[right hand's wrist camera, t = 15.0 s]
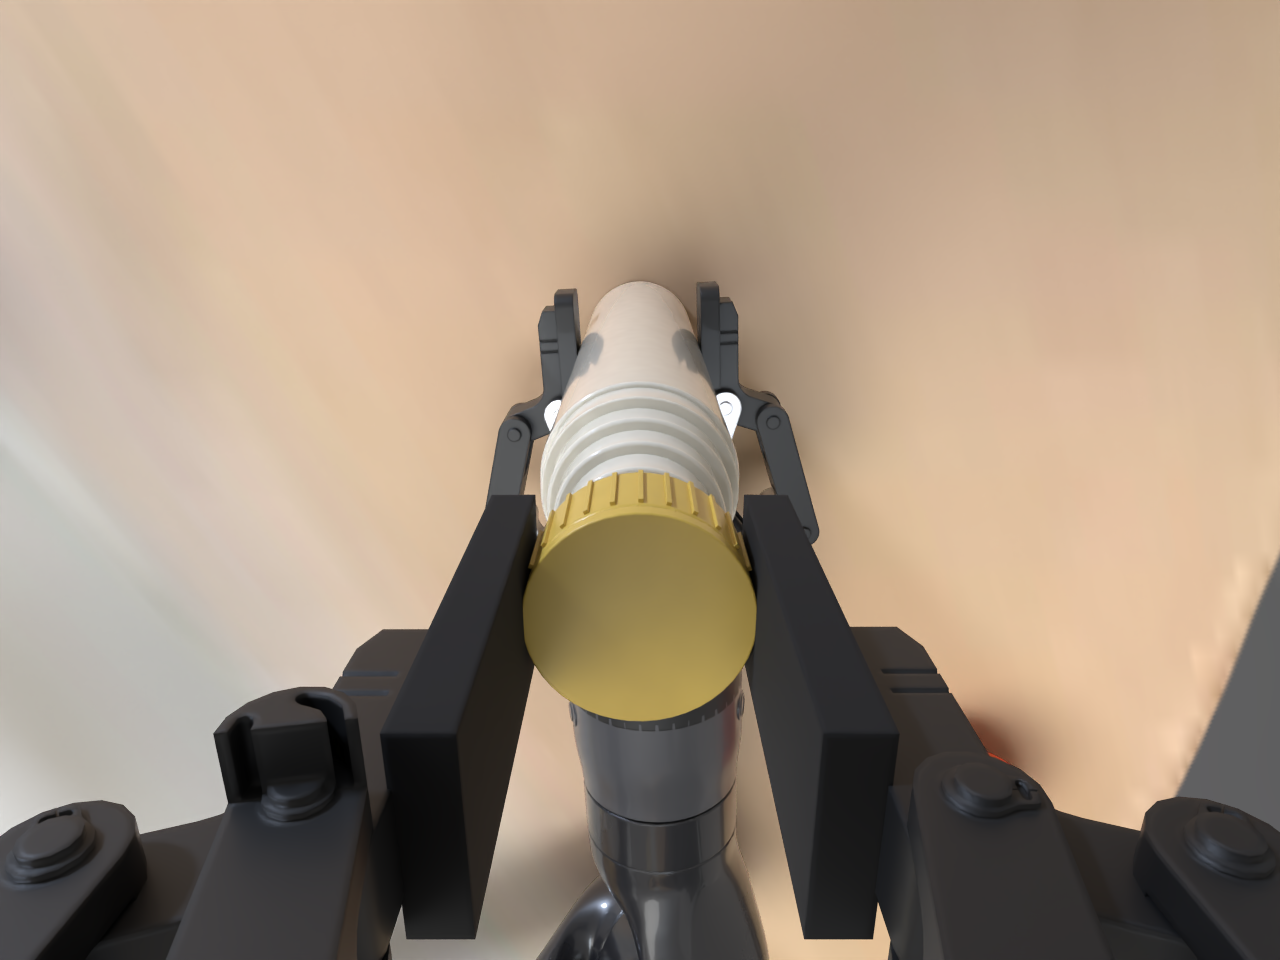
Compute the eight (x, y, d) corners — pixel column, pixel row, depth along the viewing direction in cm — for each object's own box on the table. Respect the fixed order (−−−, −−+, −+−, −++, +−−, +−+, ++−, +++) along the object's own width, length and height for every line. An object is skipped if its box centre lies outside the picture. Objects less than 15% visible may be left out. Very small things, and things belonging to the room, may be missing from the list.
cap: (733, 451, 14) (746, 490, 12) (758, 645, 15) (774, 707, 13) (511, 485, 14) (493, 529, 12) (555, 674, 15) (545, 739, 13)
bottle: (682, 273, 36) (766, 453, 12) (697, 374, 38) (796, 709, 14) (580, 290, 36) (466, 500, 12) (599, 390, 38) (529, 746, 14)
